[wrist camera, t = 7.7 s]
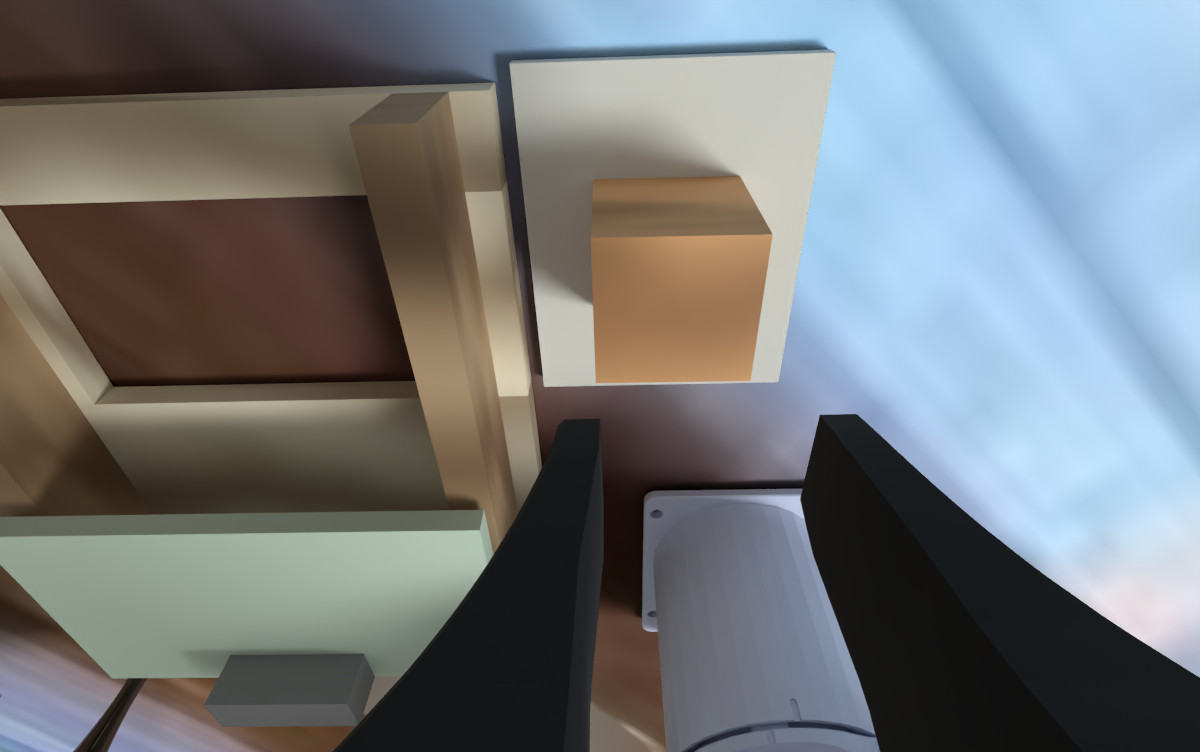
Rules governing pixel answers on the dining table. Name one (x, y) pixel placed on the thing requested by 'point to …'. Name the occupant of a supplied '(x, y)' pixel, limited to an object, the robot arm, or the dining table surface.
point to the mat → (662, 170)
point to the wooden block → (676, 279)
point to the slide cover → (254, 599)
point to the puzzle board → (290, 410)
